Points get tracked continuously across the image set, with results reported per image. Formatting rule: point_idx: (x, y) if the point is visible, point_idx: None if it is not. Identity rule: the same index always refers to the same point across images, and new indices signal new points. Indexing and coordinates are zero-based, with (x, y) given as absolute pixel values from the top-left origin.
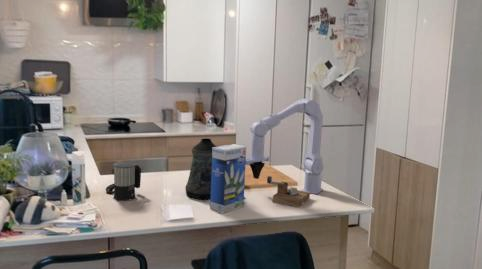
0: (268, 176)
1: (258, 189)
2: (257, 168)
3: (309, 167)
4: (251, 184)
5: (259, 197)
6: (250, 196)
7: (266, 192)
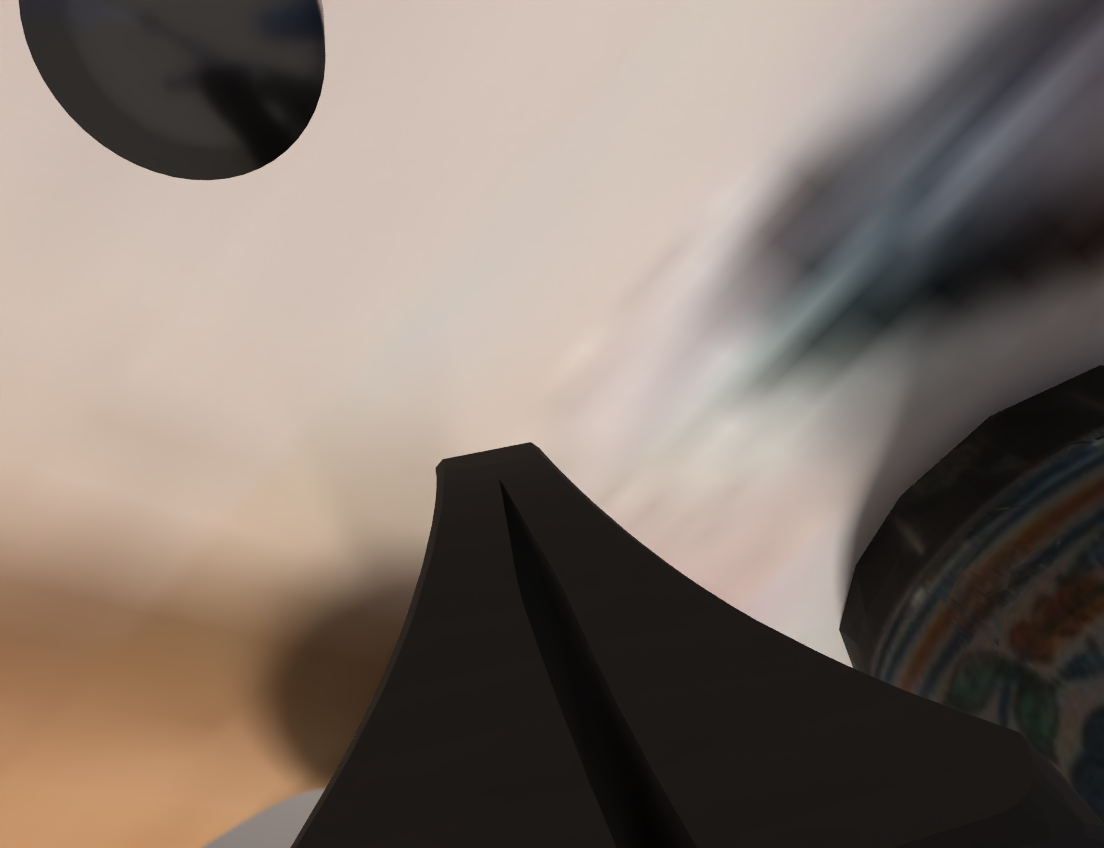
0: (207, 136)
1: (179, 497)
2: (855, 669)
3: None
4: (132, 746)
5: (534, 41)
6: (640, 210)
7: (122, 262)
